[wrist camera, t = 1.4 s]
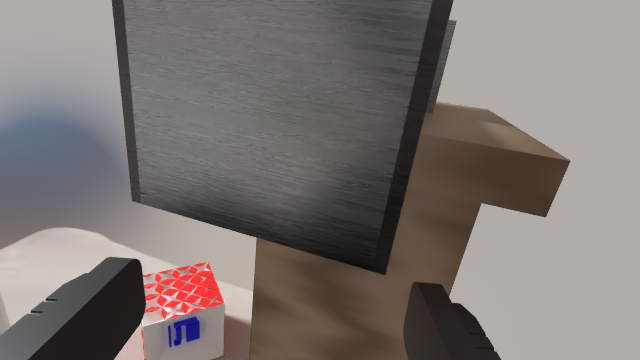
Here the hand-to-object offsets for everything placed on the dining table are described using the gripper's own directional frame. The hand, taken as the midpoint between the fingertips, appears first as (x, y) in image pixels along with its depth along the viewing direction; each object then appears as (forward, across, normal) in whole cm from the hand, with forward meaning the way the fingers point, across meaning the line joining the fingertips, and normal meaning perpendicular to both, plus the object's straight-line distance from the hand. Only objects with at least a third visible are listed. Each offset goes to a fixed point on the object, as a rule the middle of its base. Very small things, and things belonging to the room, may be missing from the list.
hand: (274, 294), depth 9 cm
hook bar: (+6, -3, -5) cm, 8 cm away
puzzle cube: (+22, +14, +26) cm, 37 cm away
